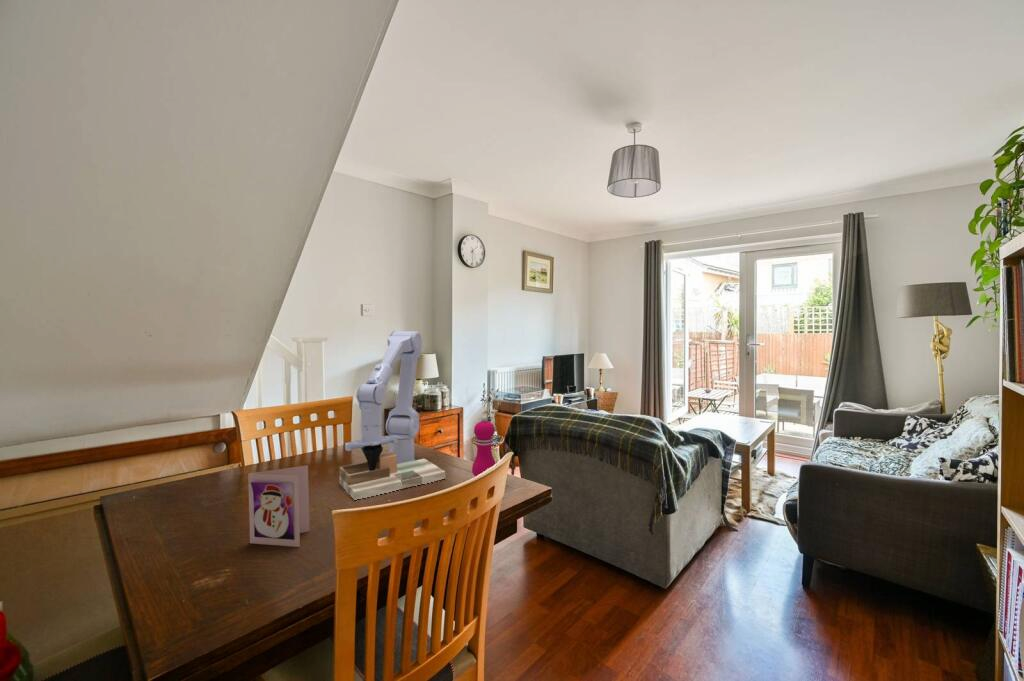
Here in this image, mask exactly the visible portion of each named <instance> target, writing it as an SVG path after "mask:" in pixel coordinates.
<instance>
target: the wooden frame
mask: <svg viewBox="0 0 1024 681" xmlns="http://www.w3.org/2000/svg"><path fill="white" fill-rule="evenodd" d="M338 468H339V471H338V472H339V474H338V475H340V476H341V478H342V479H343V480H344V481H345V482H346V483H347V484H348V485H353V484H358V483H362V482H367V481H372V480H376V479H381V478H386V477H390V468H389V467H388V468H383V469H378V470H373V471H368V470H369V466H368V462H367V461H364V462H359V463H354V464H353V463H352V464H347V465H342V466H339V467H338ZM363 471H368V472H363ZM358 472H363V473H358ZM353 473H358V474H353ZM349 474H353V475H349ZM340 476H339V477H340Z"/></svg>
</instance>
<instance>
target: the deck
mask: <svg viewBox="0 0 1024 681" xmlns="http://www.w3.org/2000/svg"><path fill="white" fill-rule="evenodd" d="M368 471H369V470H368ZM368 471H363V472H368ZM363 472H358V473H363ZM358 473H353V474H358ZM353 474H349V475H353ZM338 475H339V474H338ZM409 478H411V479H409ZM444 478H445V479H446V470H444V469H442V468H440V467H439V466H438V465H436V464H434V463H432V462H431V461H429V460H427V459H426V458H419V459H415V460H414V461H409V462H404V463H399V464H397V472H396V473H391V474H390V477H386V478H381V479H376V480H372V481H367V482H362V483H358V484H353V485H348V484H347V483H346V482H345V481H344V480H343V479H342V478H341V476H340V475H339V485H340V486H341V488H343V490H344V489H345V490H346V491H345V490H344V491H345V492H346V493H347V494H348V496H349V495H350V496H351V497H352V498H353V499H354V500H357V499H361V500H363V499H362V498H366V499H368V498H367V497H370V498H372V497H371V496H374V497H377V496H376V495H378V496H381V495H380V494H383V495H385V494H384V493H387V494H390V493H389V492H391V493H393V492H392V491H395V492H397V491H396V490H399V489H403V488H406V487H411V486H416V487H418V486H417V485H421V484H425V485H428V484H427V483H429V484H432V483H431V482H433V483H435V482H434V481H437V480H441V479H444ZM405 479H406V480H405ZM401 480H402V481H401ZM421 486H422V485H421ZM399 491H400V490H399ZM350 496H349V497H350ZM351 497H350V498H351ZM352 498H351V499H352ZM353 499H352V500H353ZM354 500H353V501H354ZM357 501H358V500H357Z"/></svg>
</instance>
